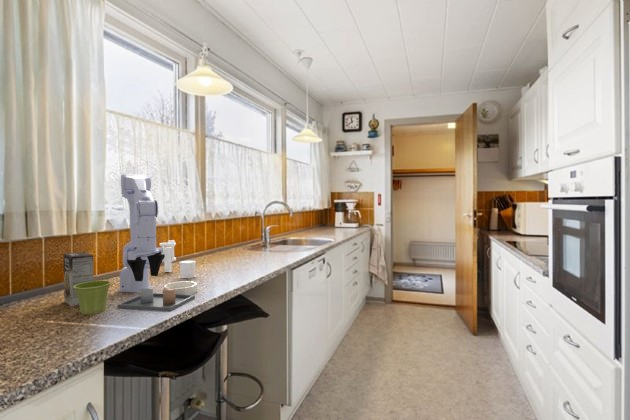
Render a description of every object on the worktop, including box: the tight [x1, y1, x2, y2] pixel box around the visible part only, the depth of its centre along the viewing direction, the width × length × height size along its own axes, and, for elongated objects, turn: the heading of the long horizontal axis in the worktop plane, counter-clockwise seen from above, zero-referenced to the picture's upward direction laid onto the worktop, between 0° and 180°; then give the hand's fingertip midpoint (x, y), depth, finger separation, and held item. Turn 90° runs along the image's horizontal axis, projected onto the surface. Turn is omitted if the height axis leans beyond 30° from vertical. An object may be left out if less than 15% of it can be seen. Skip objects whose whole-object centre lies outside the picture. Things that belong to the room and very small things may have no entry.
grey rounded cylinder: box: [140, 286, 154, 304], centre depth 110 cm, size 4×4×4 cm
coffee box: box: [63, 251, 94, 308], centre depth 111 cm, size 9×6×16 cm
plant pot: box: [73, 279, 112, 315], centre depth 101 cm, size 9×9×9 cm
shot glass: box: [179, 259, 197, 279], centre depth 149 cm, size 7×7×7 cm
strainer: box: [159, 239, 177, 273], centre depth 159 cm, size 7×7×15 cm
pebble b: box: [162, 288, 176, 305], centre depth 109 cm, size 4×4×4 cm
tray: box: [117, 292, 196, 312], centre depth 110 cm, size 18×14×2 cm
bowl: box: [163, 280, 198, 295], centre depth 122 cm, size 11×11×3 cm
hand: (146, 278), depth 110 cm, fingers open, 7 cm apart
